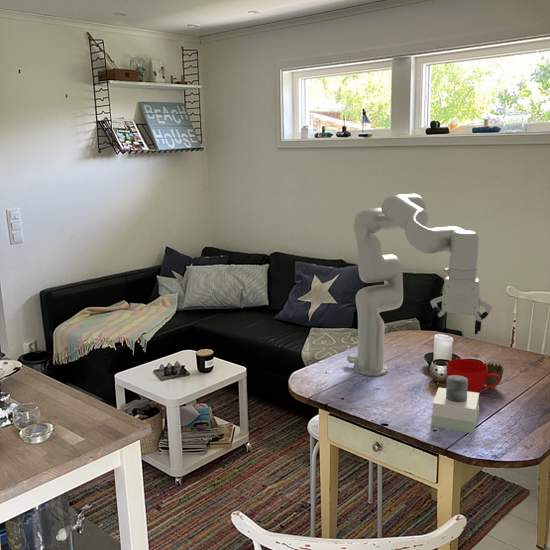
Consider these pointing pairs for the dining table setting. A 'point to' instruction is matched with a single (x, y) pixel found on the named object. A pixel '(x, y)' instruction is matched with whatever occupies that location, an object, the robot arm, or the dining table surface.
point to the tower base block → (455, 423)
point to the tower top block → (455, 406)
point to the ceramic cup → (471, 373)
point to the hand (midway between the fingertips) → (459, 331)
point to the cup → (493, 370)
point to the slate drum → (456, 388)
